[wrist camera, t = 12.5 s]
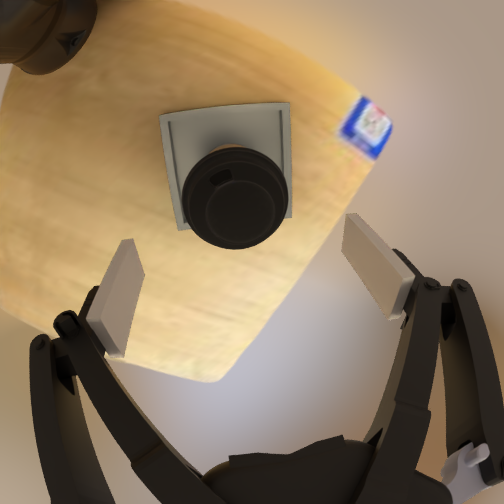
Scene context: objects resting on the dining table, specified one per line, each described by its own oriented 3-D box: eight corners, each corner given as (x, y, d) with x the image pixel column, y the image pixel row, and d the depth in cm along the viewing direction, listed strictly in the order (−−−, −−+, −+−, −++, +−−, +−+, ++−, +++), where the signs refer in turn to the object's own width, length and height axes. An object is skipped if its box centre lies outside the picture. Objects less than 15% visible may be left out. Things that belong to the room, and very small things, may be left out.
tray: (162, 114, 31) (158, 115, 29) (284, 102, 32) (289, 102, 30) (179, 222, 39) (178, 230, 37) (287, 210, 40) (291, 217, 38)
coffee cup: (221, 116, 31) (224, 127, 18) (278, 157, 35) (316, 196, 22) (179, 174, 34) (158, 223, 22) (236, 210, 38) (248, 274, 26)
